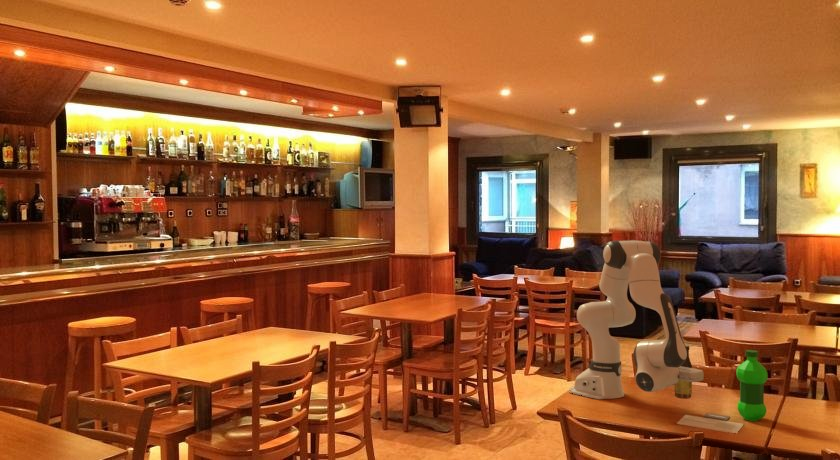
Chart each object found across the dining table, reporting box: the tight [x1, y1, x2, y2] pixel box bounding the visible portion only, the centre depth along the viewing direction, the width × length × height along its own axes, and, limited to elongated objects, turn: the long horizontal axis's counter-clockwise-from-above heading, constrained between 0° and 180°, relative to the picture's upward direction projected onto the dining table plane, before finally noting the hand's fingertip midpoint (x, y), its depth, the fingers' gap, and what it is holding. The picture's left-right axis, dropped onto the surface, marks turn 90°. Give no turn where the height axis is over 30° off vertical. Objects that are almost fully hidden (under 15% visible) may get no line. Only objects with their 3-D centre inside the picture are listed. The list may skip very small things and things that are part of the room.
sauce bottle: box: [673, 344, 693, 400], centre depth 263 cm, size 7×6×20 cm
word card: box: [703, 412, 730, 421], centre depth 256 cm, size 8×5×1 cm, turn 54°
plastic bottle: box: [735, 349, 769, 422], centre depth 253 cm, size 10×10×25 cm
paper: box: [676, 414, 745, 435], centre depth 248 cm, size 20×12×1 cm, turn 54°
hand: (684, 368), depth 264 cm, fingers closed on sauce bottle, 6 cm apart
